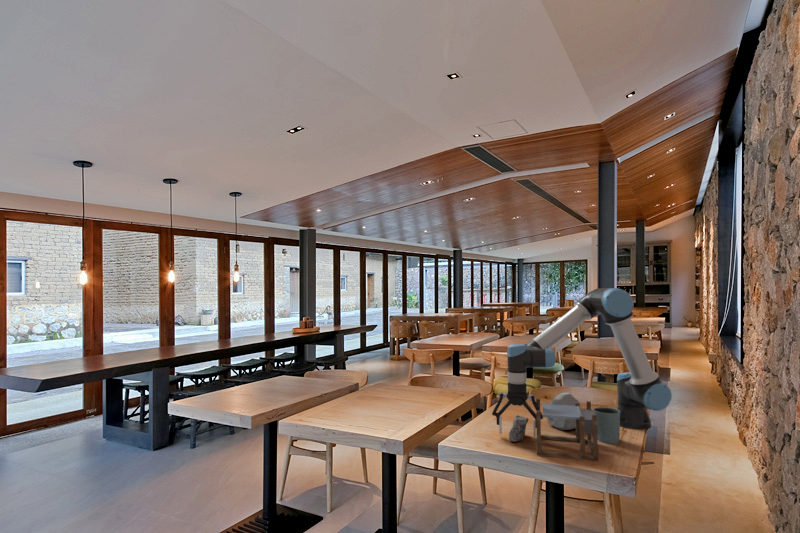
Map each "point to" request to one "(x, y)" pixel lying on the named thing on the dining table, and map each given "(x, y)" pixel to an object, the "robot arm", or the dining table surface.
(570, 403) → the stone
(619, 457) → the dining table surface
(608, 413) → the grey-green cylindrical pot
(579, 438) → the brown wooden frame
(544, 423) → the dining table surface
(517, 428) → the rock
